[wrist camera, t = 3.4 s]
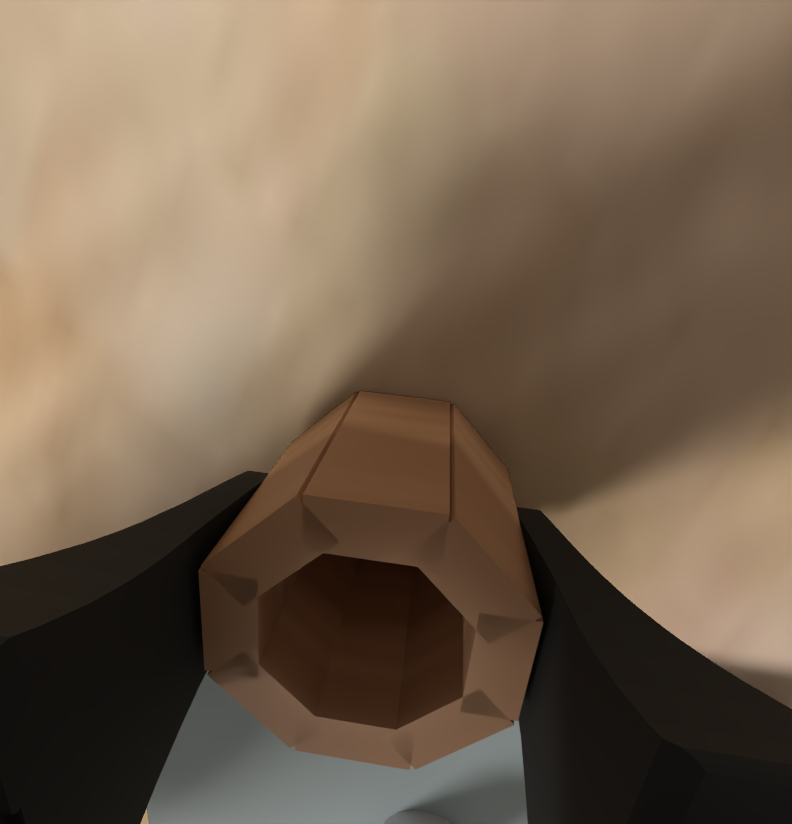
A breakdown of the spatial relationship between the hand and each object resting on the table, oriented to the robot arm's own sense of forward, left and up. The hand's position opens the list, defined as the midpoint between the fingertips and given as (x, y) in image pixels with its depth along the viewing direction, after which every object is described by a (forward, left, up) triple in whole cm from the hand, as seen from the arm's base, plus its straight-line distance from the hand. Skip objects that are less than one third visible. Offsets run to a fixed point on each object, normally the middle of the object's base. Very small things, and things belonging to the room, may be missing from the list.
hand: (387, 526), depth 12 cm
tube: (0, 0, -1) cm, 1 cm away
